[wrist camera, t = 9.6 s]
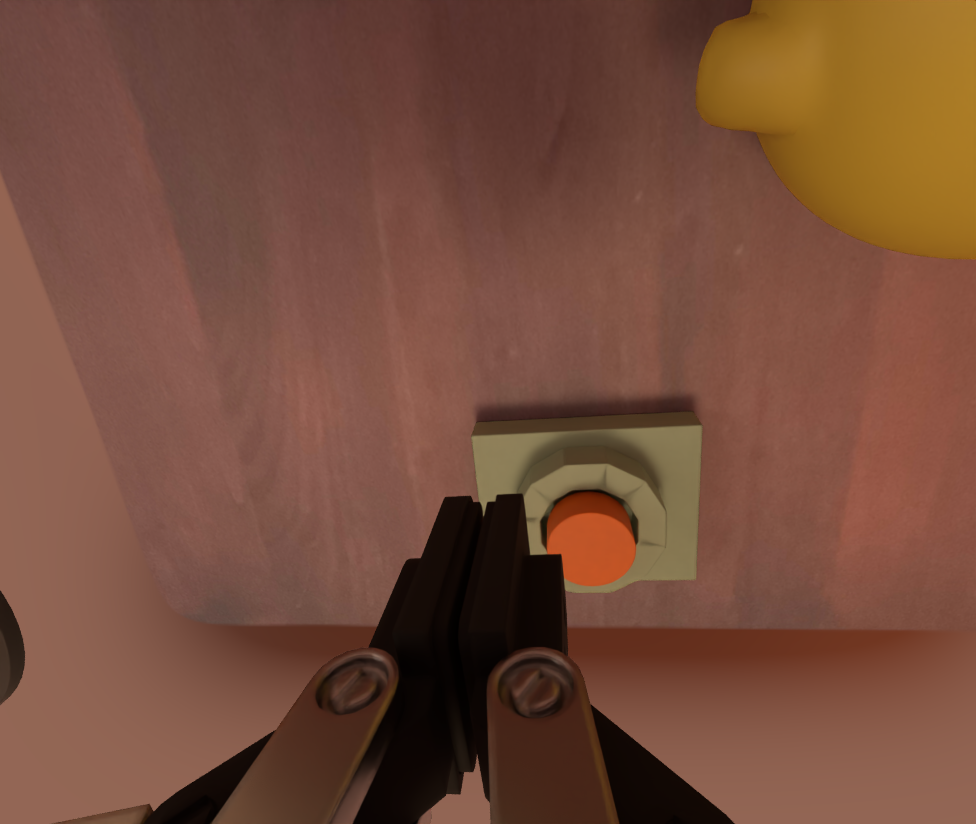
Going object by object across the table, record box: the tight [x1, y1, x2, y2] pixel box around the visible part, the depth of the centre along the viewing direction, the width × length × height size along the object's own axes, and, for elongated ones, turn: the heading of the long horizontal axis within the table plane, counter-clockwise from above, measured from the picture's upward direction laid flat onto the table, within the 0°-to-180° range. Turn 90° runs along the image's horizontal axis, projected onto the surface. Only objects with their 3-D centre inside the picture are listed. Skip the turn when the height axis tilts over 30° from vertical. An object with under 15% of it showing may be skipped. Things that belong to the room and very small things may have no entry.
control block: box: [471, 411, 703, 593], centre depth 24 cm, size 10×8×4 cm
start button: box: [547, 491, 636, 586], centre depth 22 cm, size 4×4×2 cm
